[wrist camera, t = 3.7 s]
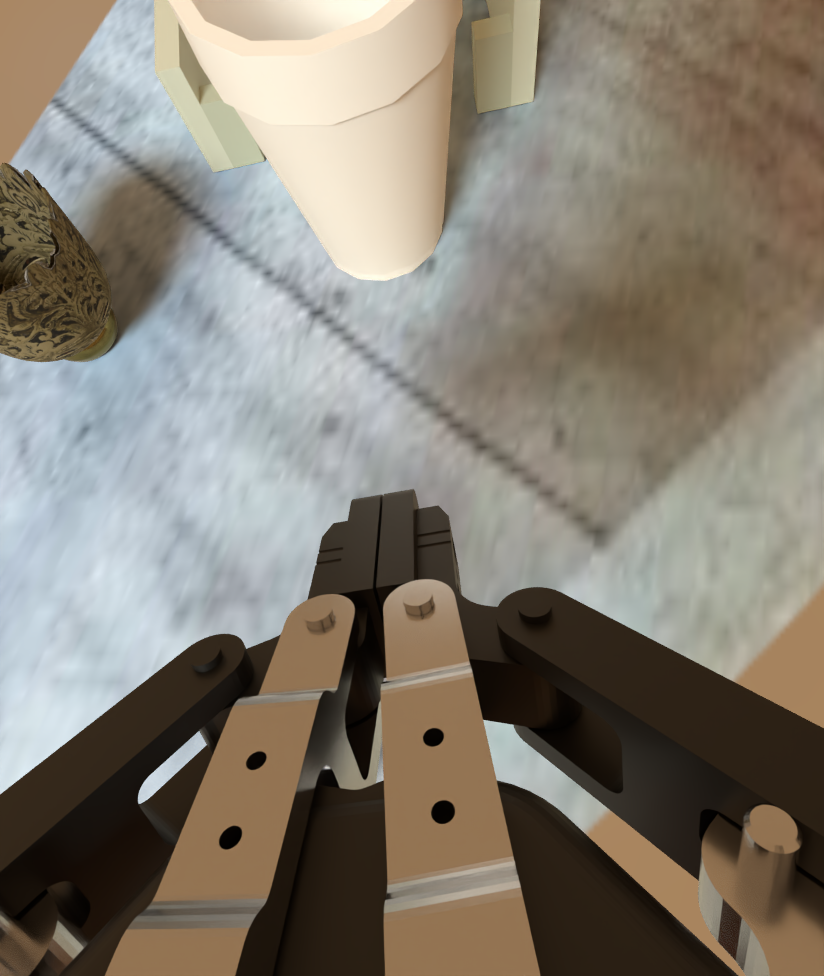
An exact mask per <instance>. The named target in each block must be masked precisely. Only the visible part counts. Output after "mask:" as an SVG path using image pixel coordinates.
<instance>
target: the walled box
mask: <svg viewBox="0 0 824 976" xmlns="http://www.w3.org/2000/svg"><path fill="white" fill-rule="evenodd" d="M540 1H541V0H486V2H487V6H488V11H489V15H490V18H486V19H482V20H478V21H474V22H471V23H472V51H473V80H474V99H475V104H476V108H477V113H478V114H479V113H484V112H488V111H493V110H497V109H502V108H506V107H511V106H515V105H520V104H524V103H529V102H533V97H534V83H535V70H536V56H537V42H538V28H539V15H540ZM154 11H155V73H156V75H157V76H158V78H159V80H160V82H161V83H162V85H163V87H164V88H165V90H166V92H167V94H168V95H169V97H170V99H171V100H172V102H173V104H174V105H175V107H176V109H177V111H178V112H179V114H180V116H181V117H182V119H183V121H184V123H185V124H186V126H187V128H188V129H189V131H190V133H191V135H192V136H193V138H194V140H195V141H196V143H197V145H198V147H199V148H200V150H201V152H202V153H203V155H204V157H205V159H206V160H207V162H208V164H209V165H210V167H211V169H212V171H213V172H219V171H223V170H228V169H232V168H237V167H241V166H246V165H250V164H255V163H259V162H264V161H265V158H264V154H263V152H262V150H261V149H260V147H259V146H258V144H257V143H256V141H255V140H254V138H253V136H252V135H251V133H250V132H249V130H248V129H247V127H246V126H245V124H244V122H243V121H242V119H241V118H240V116H239V115H238V113H237V112H236V110H235V108H234V107H232V106H230V105H228V104H226V103H224V102H223V100H222V99H221V97H220V96H219V94H218V92H217V91H216V89H215V88H214V86H213V85H212V83H211V81H210V80H209V78H208V77H207V75H206V74H205V72H204V70H203V69H202V67H201V66H200V64H199V62H198V60H197V58H196V56H195V54H194V52H193V50H192V48H191V46H190V44H189V42H188V40H187V38H186V36H185V34H184V32H183V30H182V28H181V26H180V24H179V22H178V20H177V18H176V16H175V14H174V12H173V10H172V8H171V6H170V4H169V2H168V0H154Z"/></svg>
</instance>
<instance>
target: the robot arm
mask: <svg viewBox="0 0 824 976" xmlns="http://www.w3.org/2000/svg"><path fill="white" fill-rule="evenodd" d="M316 563H317V565H316V566H315V570H314V574H313V579H312V583H311V587H310V591H309V596H308V600H307V601H305V602H303V603H302V604H300V605H299V606H297V607H296V608H295V609H294V610H293V611H292V612H291V613H290V615H289V616H288V618H287V620H286V622H285V625H284V628H283V630H282V633H281V635H279V636H277V637H275V638H273V639H271V640H268V641H265V642H263V643H260V644H258V645H255V646H253V647H250V648H248V649H246V647H245V645H244V643H243V641H242V640H241V639H240V638H239V637H237V636H235V635H231V634H218V635H213V636H210V637H207V638H204V639H202V640H200V641H198V642H196V643H195V644H193V645H191V646H190V647H189V648H187V649H186V650H185V651H183V652H182V653H181V654H180V655H178V656H177V657H176V658H174V659H173V660H172V661H171V662H169V663H168V664H167V665H165V666H164V667H163V668H162V669H160V670H159V671H158V672H156V673H155V674H154V675H153V676H151V677H150V678H149V679H148V680H146V681H145V682H144V683H142V684H141V685H140V686H139V687H137V688H136V689H135V690H133V691H132V692H131V693H130V694H128V695H127V696H126V697H124V698H123V699H122V700H121V701H119V702H118V703H117V704H116V705H114V706H113V707H112V708H110V709H109V710H108V711H107V712H105V713H104V714H103V715H101V716H100V717H99V718H98V719H96V720H95V721H94V722H92V723H91V724H90V725H89V726H87V727H86V728H85V729H84V730H82V731H81V732H80V733H78V734H77V735H76V736H75V737H73V738H72V739H71V740H69V741H68V742H67V743H66V744H64V745H63V746H62V747H60V748H59V749H58V750H57V751H55V752H54V753H53V754H51V755H50V756H49V757H48V758H46V759H45V760H44V761H43V762H41V763H40V764H39V765H37V766H36V767H35V768H34V769H32V770H31V771H30V772H28V773H27V774H26V775H25V776H23V777H22V778H21V779H19V780H18V781H17V782H16V783H14V784H13V785H12V786H11V787H9V788H8V789H7V790H5V791H4V792H3V793H2V794H0V976H738V975H737V974H736V973H735V972H734V971H733V970H732V969H730V968H729V967H728V966H727V965H726V964H725V963H724V962H723V961H722V960H721V959H720V958H719V957H717V956H716V955H715V954H714V953H713V952H712V951H711V950H710V949H709V948H707V946H706V945H705V944H703V943H702V942H701V941H700V940H699V939H698V938H697V937H696V936H695V935H694V934H693V933H692V932H690V931H689V930H688V929H687V928H686V927H685V926H684V925H683V924H682V923H681V922H679V921H678V920H677V919H676V918H675V917H674V916H673V915H672V914H671V913H670V912H669V911H668V910H667V909H666V908H665V907H663V906H662V905H661V904H660V903H659V902H658V901H657V900H656V899H655V898H654V897H653V896H652V895H650V894H649V893H648V892H647V891H646V890H645V889H644V888H643V887H642V886H641V885H640V884H638V883H637V882H636V881H635V880H634V879H633V878H632V877H631V876H630V875H629V874H628V873H627V872H626V871H625V870H624V869H622V868H621V867H620V866H619V865H618V864H617V863H616V862H615V861H614V860H613V859H612V858H611V857H609V856H608V855H607V854H606V853H605V852H604V851H603V850H602V849H601V848H600V847H598V845H597V844H596V843H594V842H593V841H592V840H591V839H590V838H589V837H588V836H587V835H586V834H585V833H584V832H583V831H582V830H580V829H579V828H578V827H577V826H576V825H575V824H574V823H573V822H572V821H571V820H570V819H569V818H568V817H566V816H565V815H564V814H563V813H562V812H561V811H560V810H558V809H557V808H556V807H554V806H553V805H552V804H550V803H549V802H547V801H546V800H544V799H543V798H541V797H539V796H537V795H536V794H534V793H532V792H530V791H528V790H525V789H523V788H520V787H518V786H515V785H512V784H509V783H505V782H501V781H496V776H495V772H494V767H493V763H492V758H491V754H490V749H489V745H488V740H487V736H486V731H485V727H484V722H483V720H488V721H495V722H501V723H507V724H513V725H514V728H515V730H516V732H517V734H518V735H519V736H520V738H522V739H523V740H524V741H525V742H526V743H527V744H528V745H530V746H531V747H532V748H533V749H535V750H536V751H537V752H538V753H540V754H541V755H542V756H543V757H545V758H546V759H547V760H548V761H550V762H551V763H552V764H553V765H555V766H556V767H557V768H558V769H560V770H561V771H562V772H563V773H565V774H566V775H567V776H568V777H570V778H571V779H572V780H573V781H575V782H576V783H577V784H578V785H580V786H581V787H582V788H583V789H585V790H586V791H587V792H588V793H590V794H591V795H592V796H593V797H595V798H596V799H597V800H598V801H600V802H601V803H602V804H603V805H605V806H606V807H607V808H608V809H610V810H611V811H612V812H613V813H615V814H616V815H617V816H618V817H620V818H621V819H622V820H624V821H625V822H626V823H627V824H628V825H630V826H631V827H632V828H634V829H635V830H636V831H637V832H638V833H640V834H641V835H642V836H643V837H645V838H646V839H647V840H648V841H650V842H651V843H652V844H653V845H655V846H656V847H657V848H658V849H660V850H661V851H662V852H664V853H665V854H666V855H667V856H668V857H670V858H671V859H672V860H673V861H675V862H676V863H677V864H678V865H680V866H681V867H682V868H683V869H685V870H686V871H687V872H688V873H690V874H691V875H692V876H693V877H695V878H696V879H697V880H698V881H699V887H698V899H699V906H700V910H701V913H702V916H703V918H704V920H705V923H706V925H707V926H708V928H709V930H710V932H711V933H712V935H713V936H714V937H715V939H716V940H717V941H718V942H719V944H720V945H721V946H722V947H723V948H724V949H725V950H726V951H727V952H728V953H729V954H730V955H731V957H733V959H734V960H735V961H736V962H737V963H738V965H739V966H740V968H741V969H742V970H743V972H744V973H745V975H746V976H824V728H822V727H820V726H818V725H816V724H814V723H812V722H810V721H808V720H806V719H804V718H802V717H801V716H798V715H797V714H795V713H793V712H791V711H789V710H787V709H785V708H783V707H781V706H779V705H777V704H775V703H773V702H772V701H770V700H768V699H766V698H764V697H762V696H760V695H758V694H756V693H754V692H752V691H750V690H748V689H746V688H744V687H743V686H741V685H739V684H737V683H735V682H733V681H731V680H729V679H727V678H725V677H723V676H721V675H719V674H717V673H715V672H714V671H712V670H710V669H708V668H706V667H704V666H702V665H700V664H698V663H696V662H694V661H692V660H690V659H688V658H686V657H685V656H683V655H681V654H679V653H677V652H675V651H673V650H671V649H669V648H667V647H665V646H663V645H661V644H659V643H657V642H656V641H654V640H652V639H650V638H648V637H646V636H644V635H642V634H640V633H638V632H636V631H634V630H632V629H630V628H629V627H627V626H625V625H623V624H621V623H619V622H617V621H615V620H613V619H611V618H609V617H607V616H605V615H603V614H601V613H600V612H598V611H596V610H594V609H592V608H590V607H588V606H586V605H584V604H582V603H580V602H578V601H576V600H574V599H572V598H571V597H569V596H567V595H565V594H563V593H561V592H558V591H556V590H553V589H549V588H542V587H533V588H526V589H522V590H518V591H516V592H514V593H511V594H510V595H508V596H507V597H506V598H504V599H503V600H502V601H501V603H500V604H499V606H498V607H492V606H484V605H479V604H476V603H473V602H471V601H469V600H467V599H466V598H465V597H463V596H462V595H461V585H460V577H459V569H458V563H457V558H456V553H455V547H454V542H453V537H452V532H451V527H450V522H449V516H448V515H447V514H446V513H445V512H444V511H443V510H442V509H441V508H440V507H439V506H433V507H427V508H421V509H419V506H418V502H417V498H416V494H415V491H414V489H411V490H405V491H399V492H394V493H388V494H384V495H377V496H371V497H365V498H359V499H353V500H352V501H351V506H350V512H349V518H348V521H345V522H339V523H333V525H332V526H331V527H330V528H329V530H328V531H327V532H326V533H325V534H324V536H323V537H322V540H321V544H320V549H319V554H318V557H317V562H316ZM384 678H387V681H386V682H383V680H384ZM198 731H200V733H201V735H202V737H203V738H204V740H205V742H206V744H207V745H206V746H205V747H204V748H203V749H202V750H201V751H200V752H199V753H198V754H197V755H196V756H195V757H194V758H192V759H191V760H190V761H189V762H188V763H187V764H186V765H185V766H184V767H183V768H182V769H181V770H179V771H178V772H177V773H176V774H175V775H174V776H173V777H172V778H171V779H170V780H169V781H168V782H167V783H165V784H164V785H163V786H162V787H161V788H160V789H159V790H158V791H157V792H156V793H155V794H154V795H153V796H151V797H150V798H149V799H148V800H146V801H145V802H143V803H141V804H138V793H139V790H140V788H141V786H142V784H143V783H144V781H145V780H146V779H147V777H148V776H149V775H150V774H151V773H153V772H154V771H155V770H156V769H157V768H158V767H159V766H160V765H161V764H163V763H164V762H165V761H166V760H167V759H168V758H169V757H170V756H171V755H173V754H174V753H175V752H176V751H177V750H178V749H179V748H180V747H181V746H183V745H184V744H185V743H186V742H187V741H188V740H189V739H190V738H191V737H193V736H194V735H195V734H196V733H197V732H198ZM381 742H382V745H383V771H384V781H381V782H378V783H376V779H377V772H378V764H379V757H380V749H381Z"/></svg>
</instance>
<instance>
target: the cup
mask: <svg viewBox="0 0 824 976" xmlns="http://www.w3.org/2000/svg"><path fill="white" fill-rule="evenodd" d="M23 174H24V175H22V174H21V173H20V172H19V171H18V170H17V169H16V168H14V167H12V166H11V165H9V164H7V163H2V165H1V166H0V353H2V354H5V355H8V356H10V357H14V358H17V359H21V360H26V361H34V362H50V361H58V360H62V359H65V360H68V361H74V362H88V361H92V360H95V359H97V358H99V357H101V356H102V355H103V354H105V353H106V352H107V351H108V350H109V349H110V348H111V346H112V345H113V343H114V341H115V339H116V336H117V331H118V325H117V320H116V317H115V314H114V312H113V310H112V308H111V289H110V285H109V281H108V278H107V275H106V273H105V271H104V269H103V267H102V265H101V263H100V261H99V260H98V258H97V257H96V255H95V254H94V252H93V250H92V249H91V248H90V246H89V245H88V243H87V242H86V241H85V239H84V238H83V237H82V235H81V234H80V233H79V231H78V230H77V229H76V228H75V226H74V225H73V224H72V222H71V221H70V220H69V219H68V217H67V216H66V215H65V213H64V212H63V211H62V210H61V208H60V207H59V206H58V205H57V203H56V202H55V201H54V200H53V198H52V197H51V196H50V194H49V193H48V192H47V190H46V189H45V188H44V187H42V186H41V185H40V183H39V182H38V180H37V179H36V178H35V177H34V175H32V174H31V173H30V172H29V171H28V170H25V171H24V172H23Z"/></svg>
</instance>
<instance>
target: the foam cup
mask: <svg viewBox="0 0 824 976" xmlns="http://www.w3.org/2000/svg"><path fill="white" fill-rule="evenodd" d="M168 2H169V4H170V6H171V8H172V10H173V12H174V14H175V16H176V18H177V20H178V22H179V24H180V26H181V28H182V30H183V32H184V34H185V36H186V38H187V40H188V42H189V44H190V46H191V48H192V50H193V52H194V54H195V56H196V58H197V60H198V62H199V64H200V66H201V67H202V69H203V70H204V72H205V74H206V75H207V77H208V78H209V80H210V81H211V83H212V85H213V86H214V88H215V89H216V91H217V92H218V94H219V96H220V97H221V99H222V100H223V102H224V103H226V104H228V105H230V106H232V107H234V108H235V110H236V112H237V113H238V115H239V116H240V118H241V119H242V121H243V122H244V124H245V126H246V127H247V129H248V130H249V132H250V133H251V135H252V136H253V138H254V140H255V141H256V143H257V144H258V146H259V147H260V149H261V150H262V152H263V154H264V155H265V157H266V158H267V160H268V161H269V163H270V164H271V166H272V167H273V169H274V171H275V172H276V174H277V175H278V177H279V178H280V180H281V181H282V183H283V185H284V186H285V188H286V189H287V191H288V192H289V194H290V195H291V197H292V199H293V200H294V202H295V203H296V205H297V206H298V208H299V209H300V211H301V213H302V214H303V216H304V217H305V219H306V220H307V222H308V223H309V225H310V226H311V228H312V230H313V231H314V233H315V234H316V236H317V237H318V239H319V240H320V242H321V244H322V245H323V247H324V248H325V250H326V251H327V253H328V254H329V256H330V258H331V259H332V261H333V262H334V263H335V265H336V266H337V268H339V269H341V270H343V271H345V272H346V273H348V274H350V275H352V276H354V277H356V278H358V279H363V280H382V281H387V280H389V279H392V278H395V277H398V276H401V275H404V274H407V273H410V272H412V271H414V270H415V269H416V268H417V267H418V266H419V265H420V264H421V263H423V262H424V261H425V260H426V259H427V258H428V257H429V256H430V255H432V254H433V252H434V249H435V247H436V245H437V242H438V240H439V238H440V235H441V233H442V224H443V220H444V205H445V190H446V174H447V159H448V144H449V129H450V113H451V98H452V83H453V67H454V52H455V37H456V28H457V26H458V24H459V22H460V20H461V17H462V15H463V8H462V0H168Z"/></svg>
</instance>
